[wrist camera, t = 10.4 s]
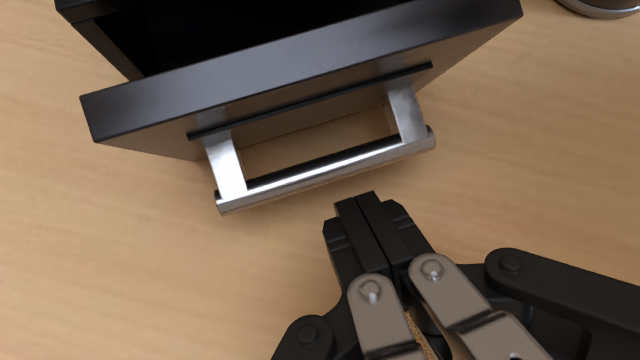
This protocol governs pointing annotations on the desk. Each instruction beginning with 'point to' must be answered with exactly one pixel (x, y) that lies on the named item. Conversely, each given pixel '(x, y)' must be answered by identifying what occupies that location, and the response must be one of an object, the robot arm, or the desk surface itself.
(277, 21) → the oven
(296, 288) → the desk surface
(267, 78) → the oven door
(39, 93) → the desk surface
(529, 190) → the desk surface
